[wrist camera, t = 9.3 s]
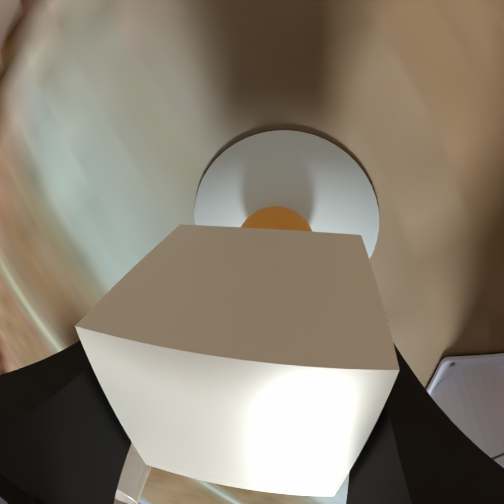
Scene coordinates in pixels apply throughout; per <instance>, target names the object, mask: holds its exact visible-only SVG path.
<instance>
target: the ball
mask: <svg viewBox="0 0 504 504" xmlns="http://www.w3.org/2000/svg"><path fill="white" fill-rule="evenodd" d="M241 227H244V228H263V229H280V230H296V231H312V229H311V227H310V226H309V224H308V223H307V221H306V220H305V219H304V218H303V217H302V216H301V215H300V214H298V213H297V212H295V211H293V210H291V209H288V208H285V207H280V206H272V207H266V208H263V209H260V210H258V211H256V212H254V213H253V214H252V215H250V216H249V217H248V218H247V219H246V220H245V222H244V223H243V224H242V226H241Z"/></svg>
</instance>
